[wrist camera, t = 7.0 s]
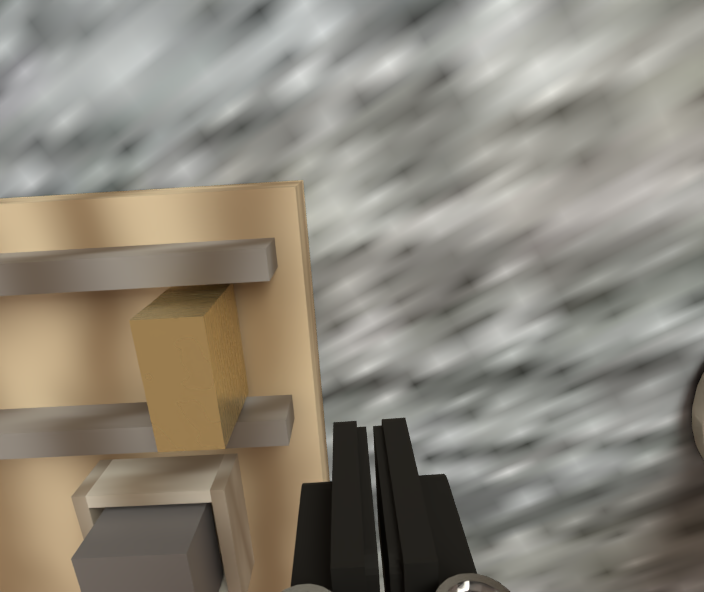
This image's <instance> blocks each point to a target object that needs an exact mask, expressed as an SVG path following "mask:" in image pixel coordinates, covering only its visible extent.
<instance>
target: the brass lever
mask: <svg viewBox="0 0 704 592" xmlns="http://www.w3.org/2000/svg"><path fill="white" fill-rule="evenodd" d="M129 323H130V328H131V332H132V337H133V341H134V346H135V350H136V355H137V359H138V364H139V369H140V373H141V378H142V382H143V387H144V391H145V396H146V401H147V405H148V410H149V414H150V419H151V423H152V428H153V433H154V437H155V442H156V446H157V451H158V452H176V451H197V450H217V449H225V448H226V446H227V444H228V441H229V439H230V436H231V434H232V431H233V429H234V427H235V424H236V422H237V419H238V417H239V414H240V412H241V410H242V407H243V405H244V402H245V400H246V397H247V395H248V393H249V390H248V383H247V376H246V369H245V362H244V355H243V348H242V341H241V334H240V327H239V320H238V313H237V306H236V299H235V292H234V285H233V283H226V284H208V285H190V286H172V287H170V288H168V289H167V290H166V291H165V292H164V293H162V294H161V295H160V296H159V297H157V298H156V299H155V300H154V301H152V302H151V303H150V304H149V305H148V306H146V307H145V308H144V309H143V310H141V311H140V312H139V313H138V314H136V315H135V316H134V317H133V318H132V319H130V320H129Z"/></svg>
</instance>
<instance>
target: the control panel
mask: <svg viewBox="0 0 704 592" xmlns="http://www.w3.org/2000/svg"><path fill="white" fill-rule="evenodd" d="M226 283H233V285H234V292H235V299H236V306H237V313H238V320H239V327H240V334H241V341H242V348H243V355H244V362H245V369H246V376H247V383H248V390H249V393H248V395H247V397H246V400H245V402H244V405H243V407H242V410H241V412H240V414H239V417H238V419H237V422H236V424H235V427H234V429H233V431H232V434H231V436H230V439H229V441H228V444H227V446H226V448H225V449H217V450H197V451H176V452H158V451H157V446H156V442H155V437H154V433H153V428H152V423H151V419H150V414H149V410H148V405H147V401H146V396H145V391H144V387H143V382H142V378H141V373H140V369H139V364H138V359H137V355H136V350H135V346H134V341H133V337H132V332H131V328H130V323H129V320H130V319H132V318H133V317H134V316H135V315H136V314H138V313H139V312H140V311H141V310H143V309H144V308H145V307H146V306H148V305H149V304H150V303H151V302H152V301H154V300H155V299H156V298H157V297H159V296H160V295H161V294H162V293H164V292H165V291H166V290H167V289H168V288H170V287H172V286H190V285H208V284H226ZM329 481H330V478H329V467H328V456H327V445H326V433H325V422H324V411H323V399H322V388H321V377H320V366H319V354H318V343H317V332H316V320H315V309H314V298H313V287H312V275H311V264H310V253H309V241H308V230H307V219H306V208H305V196H304V185H303V180H299V181H283V182H266V183H250V184H233V185H216V186H200V187H183V188H167V189H150V190H134V191H117V192H101V193H84V194H67V195H51V196H34V197H18V198H1V199H0V592H81V590H80V586H79V583H78V580H77V577H76V574H75V570H74V567H73V564H72V561H71V558H72V557H73V555H74V554H75V552H76V551H77V549H78V548H79V546H80V545H81V543H82V542H83V540H84V539H85V537H86V536H87V534H88V533H89V531H90V530H91V528H92V527H93V525H94V524H95V522H96V521H97V519H98V518H99V516H100V515H101V513H102V512H103V510H104V509H105V507H122V506H144V505H165V504H187V503H208V502H210V503H211V509H212V514H213V520H214V525H215V530H216V536H217V541H218V547H219V552H220V557H221V563H222V568H223V573H224V575H223V579H222V582H221V585H220V589H219V592H281V591H283V590H284V589H287V588H290V586H291V577H292V568H293V558H294V549H295V540H296V531H297V522H298V513H299V504H300V494H301V487H302V484H303V483H314V482H329Z"/></svg>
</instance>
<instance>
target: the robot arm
mask: <svg viewBox="0 0 704 592" xmlns="http://www.w3.org/2000/svg"><path fill="white" fill-rule="evenodd" d="M692 430H693V434H694V439H695V443H696V446H697V448H698V450H699V452H700V454H701V456H702V458H703V460H704V373H703V375H702V377H701V379H700V381H699V384H698V386H697V390H696V394H695V398H694V402H693V406H692ZM373 432H374V451H375V471H376V490H377V509H378V526H379V537H380V548H381V558H382V568H383V578H384V588H385V592H510V591H509V590H508V589H507V588H506V587H504V586H503V585H502V584H501V583H500V582H498V581H496V580H494V579H492V578H489V577H487V576H484V575H479V574H477V572H476V569H475V566H474V562H473V559H472V556H471V553H470V550H469V547H468V543H467V540H466V537H465V534H464V531H463V527H462V524H461V521H460V518H459V515H458V511H457V508H456V505H455V502H454V499H453V495H452V492H451V489H450V486H449V483H448V480H447V477H446V475H445V474H436V475H421V476H419V475H418V471H417V467H416V462H415V458H414V454H413V449H412V445H411V441H410V437H409V432H408V428H407V424H406V420H405V418H394V419H382V426H373ZM281 592H380V584H379V568H378V554H377V543H376V532H375V521H374V510H373V499H372V488H371V476H370V465H369V454H368V443H367V432H366V427H357V421H348V422H334V425H333V470H332V481H329V482H314V483H303V484H302V487H301V494H300V504H299V513H298V522H297V531H296V540H295V549H294V558H293V568H292V577H291V586H290V588H287V589H284V590H283V591H281Z"/></svg>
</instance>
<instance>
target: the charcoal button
mask: <svg viewBox="0 0 704 592" xmlns="http://www.w3.org/2000/svg"><path fill="white" fill-rule="evenodd" d="M71 561H72V564H73V567H74V570H75V574H76V577H77V580H78V583H79V586H80V590H81V592H219V589H220V585H221V582H222V579H223V575H224V573H223V568H222V563H221V557H220V552H219V547H218V541H217V536H216V530H215V525H214V520H213V514H212V509H211V503H210V502H208V503H187V504H165V505H144V506H122V507H105V509H104V510H103V512H102V513H101V515H100V516H99V518H98V519H97V521H96V522H95V524H94V525H93V527H92V528H91V530H90V531H89V533H88V534H87V536H86V537H85V539H84V540H83V542H82V543H81V545H80V546H79V548H78V549H77V551H76V552H75V554H74V555H73V557H72V558H71Z"/></svg>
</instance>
